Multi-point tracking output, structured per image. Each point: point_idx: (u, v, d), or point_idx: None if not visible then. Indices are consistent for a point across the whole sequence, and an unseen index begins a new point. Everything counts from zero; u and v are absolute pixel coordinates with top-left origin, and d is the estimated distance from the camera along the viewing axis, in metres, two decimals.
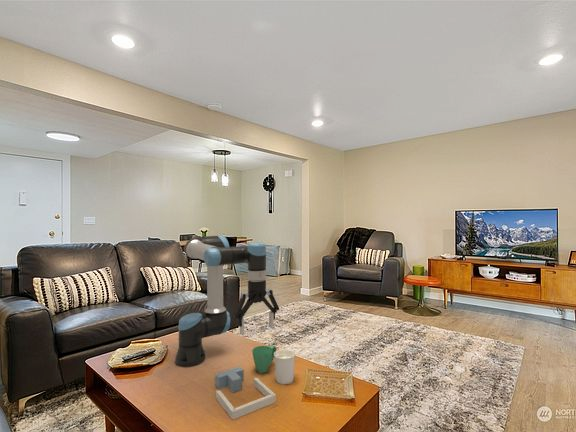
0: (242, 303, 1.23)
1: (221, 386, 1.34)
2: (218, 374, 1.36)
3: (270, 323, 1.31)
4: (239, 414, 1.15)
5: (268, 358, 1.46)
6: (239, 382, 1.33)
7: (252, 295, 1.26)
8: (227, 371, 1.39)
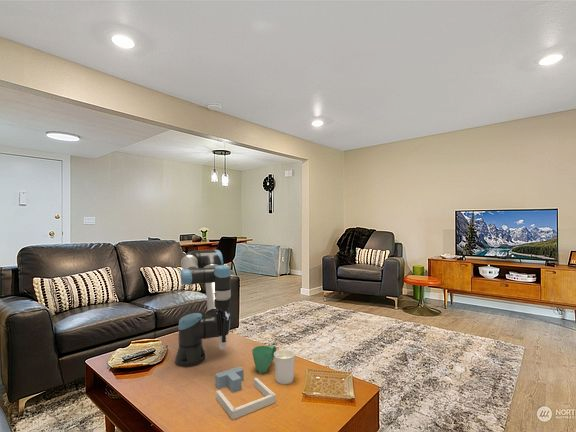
0: (216, 318, 1.48)
1: (221, 386, 1.34)
2: (218, 374, 1.36)
3: None
4: (239, 414, 1.15)
5: (268, 358, 1.46)
6: (239, 382, 1.33)
7: (218, 309, 1.47)
8: (227, 371, 1.39)
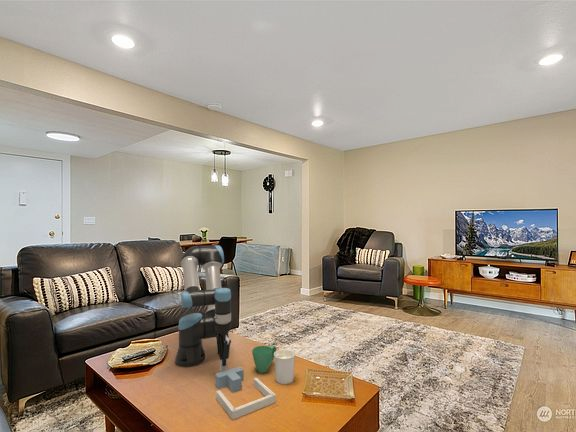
0: (217, 341, 1.48)
1: (221, 386, 1.34)
2: (218, 374, 1.36)
3: None
4: (239, 414, 1.15)
5: (268, 358, 1.46)
6: (239, 382, 1.33)
7: (218, 332, 1.46)
8: (227, 371, 1.39)
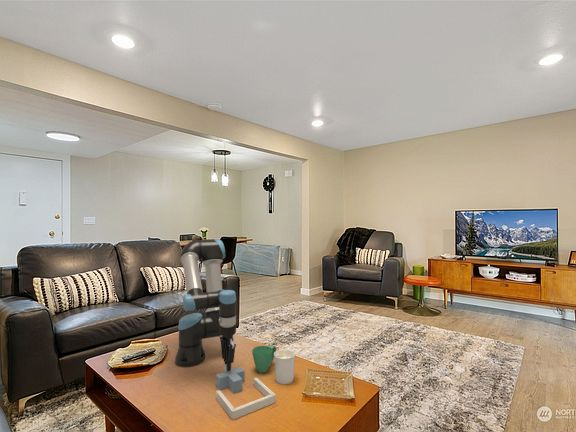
0: (221, 345, 1.43)
1: (222, 387, 1.34)
2: (219, 375, 1.36)
3: None
4: (239, 414, 1.15)
5: (268, 358, 1.46)
6: (240, 383, 1.32)
7: (223, 335, 1.42)
8: (228, 372, 1.38)
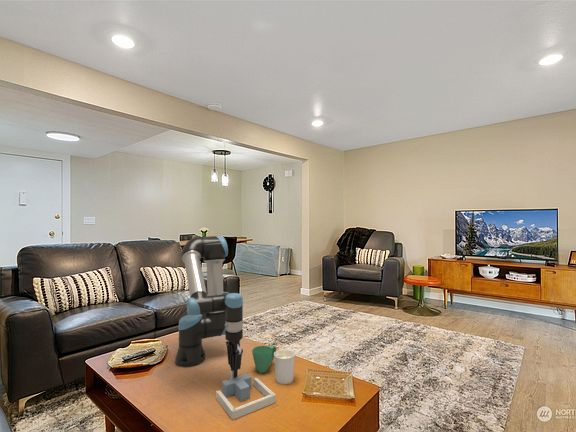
0: (227, 350, 1.37)
1: (228, 394, 1.28)
2: (225, 382, 1.30)
3: None
4: (239, 414, 1.15)
5: (268, 358, 1.46)
6: (247, 391, 1.26)
7: (229, 340, 1.36)
8: (234, 378, 1.33)
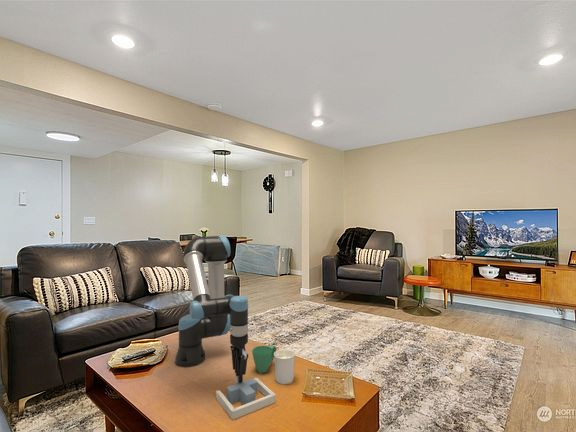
0: (232, 354, 1.33)
1: (233, 400, 1.24)
2: (230, 387, 1.26)
3: None
4: (239, 414, 1.15)
5: (268, 358, 1.46)
6: (253, 396, 1.22)
7: (234, 345, 1.32)
8: (239, 384, 1.28)
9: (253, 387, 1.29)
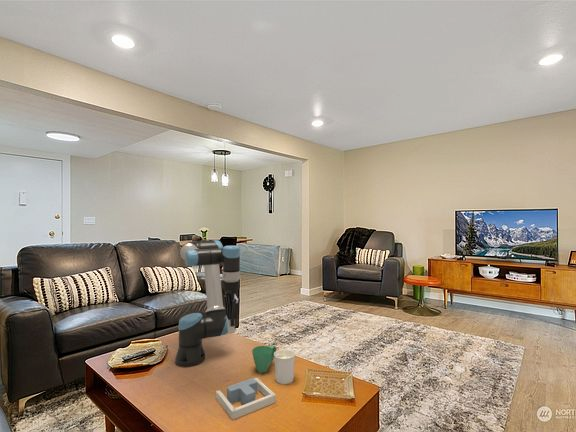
0: (224, 301, 1.40)
1: (233, 400, 1.24)
2: (230, 387, 1.26)
3: None
4: (239, 414, 1.15)
5: (268, 358, 1.46)
6: (253, 396, 1.22)
7: (226, 291, 1.39)
8: (239, 384, 1.29)
9: (253, 387, 1.29)
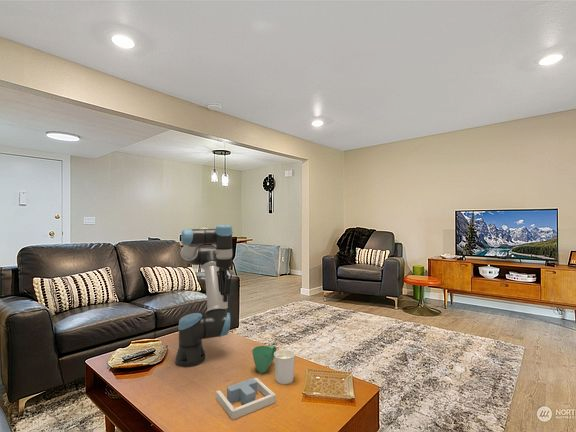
0: (218, 278, 1.46)
1: (233, 400, 1.24)
2: (230, 387, 1.26)
3: None
4: (239, 414, 1.15)
5: (268, 358, 1.46)
6: (253, 396, 1.22)
7: (219, 269, 1.45)
8: (239, 384, 1.29)
9: (253, 387, 1.29)
